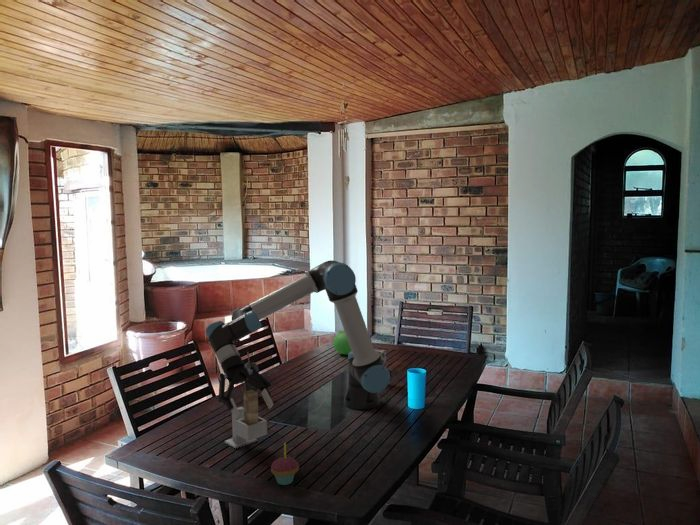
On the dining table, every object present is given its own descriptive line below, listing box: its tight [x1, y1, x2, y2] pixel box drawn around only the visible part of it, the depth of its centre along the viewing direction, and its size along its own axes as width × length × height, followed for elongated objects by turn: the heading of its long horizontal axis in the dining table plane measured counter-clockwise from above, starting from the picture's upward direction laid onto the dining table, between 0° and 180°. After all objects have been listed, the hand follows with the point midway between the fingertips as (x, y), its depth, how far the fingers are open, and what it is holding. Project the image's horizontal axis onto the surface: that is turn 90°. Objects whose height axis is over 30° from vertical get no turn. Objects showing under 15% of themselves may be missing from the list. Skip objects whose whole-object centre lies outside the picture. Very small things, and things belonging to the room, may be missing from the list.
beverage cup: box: [244, 351, 260, 392], centre depth 235 cm, size 7×7×20 cm
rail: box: [243, 390, 259, 425], centre depth 182 cm, size 4×4×14 cm
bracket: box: [224, 406, 268, 450], centre depth 185 cm, size 14×9×12 cm, turn 44°
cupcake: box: [270, 442, 300, 486], centre depth 160 cm, size 9×8×12 cm
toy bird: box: [332, 330, 352, 356], centre depth 305 cm, size 18×17×15 cm
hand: (254, 411), depth 181 cm, fingers open, 13 cm apart
